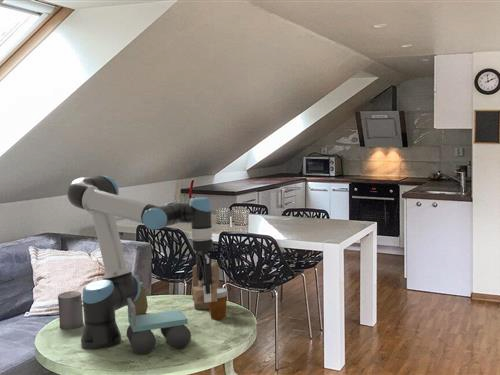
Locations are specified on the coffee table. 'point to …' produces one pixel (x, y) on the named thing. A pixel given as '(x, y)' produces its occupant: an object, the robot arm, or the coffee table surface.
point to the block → (196, 282)
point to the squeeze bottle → (141, 301)
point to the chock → (199, 295)
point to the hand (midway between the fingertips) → (205, 299)
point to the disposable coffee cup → (219, 305)
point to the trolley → (167, 321)
